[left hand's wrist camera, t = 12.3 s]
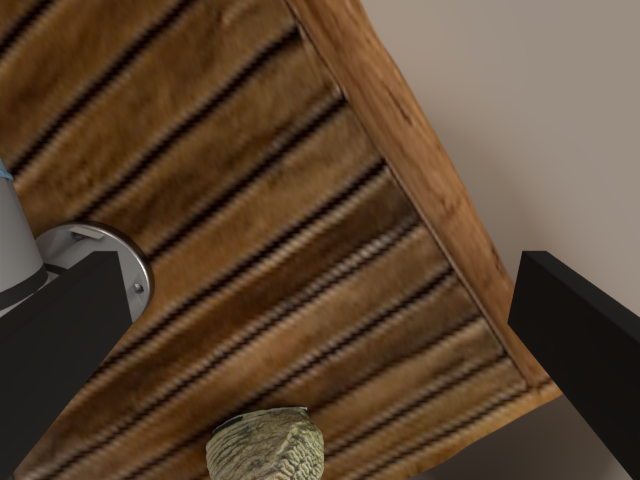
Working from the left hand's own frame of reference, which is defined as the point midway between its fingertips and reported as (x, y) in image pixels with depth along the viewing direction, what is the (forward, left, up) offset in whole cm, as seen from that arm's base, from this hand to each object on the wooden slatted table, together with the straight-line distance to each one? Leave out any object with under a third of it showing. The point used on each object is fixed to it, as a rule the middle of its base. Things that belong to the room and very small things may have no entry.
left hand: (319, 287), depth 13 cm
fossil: (-34, -27, -34) cm, 55 cm away
